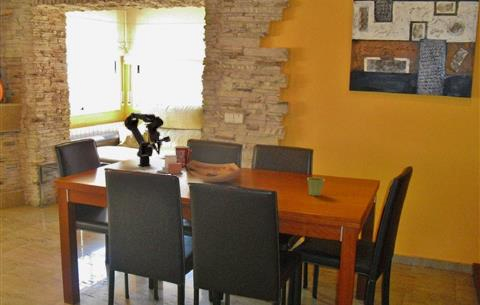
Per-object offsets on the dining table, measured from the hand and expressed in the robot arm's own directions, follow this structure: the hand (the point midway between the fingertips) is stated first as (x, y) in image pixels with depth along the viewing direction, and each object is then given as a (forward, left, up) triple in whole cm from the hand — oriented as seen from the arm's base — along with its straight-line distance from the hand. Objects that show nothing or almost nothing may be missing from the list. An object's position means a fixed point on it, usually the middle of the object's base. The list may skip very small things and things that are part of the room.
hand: (158, 154), depth 315 cm
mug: (+3, +20, -10) cm, 23 cm away
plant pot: (+106, +15, -10) cm, 108 cm away
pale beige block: (+13, -2, -9) cm, 16 cm away
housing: (+13, -2, -10) cm, 17 cm away
